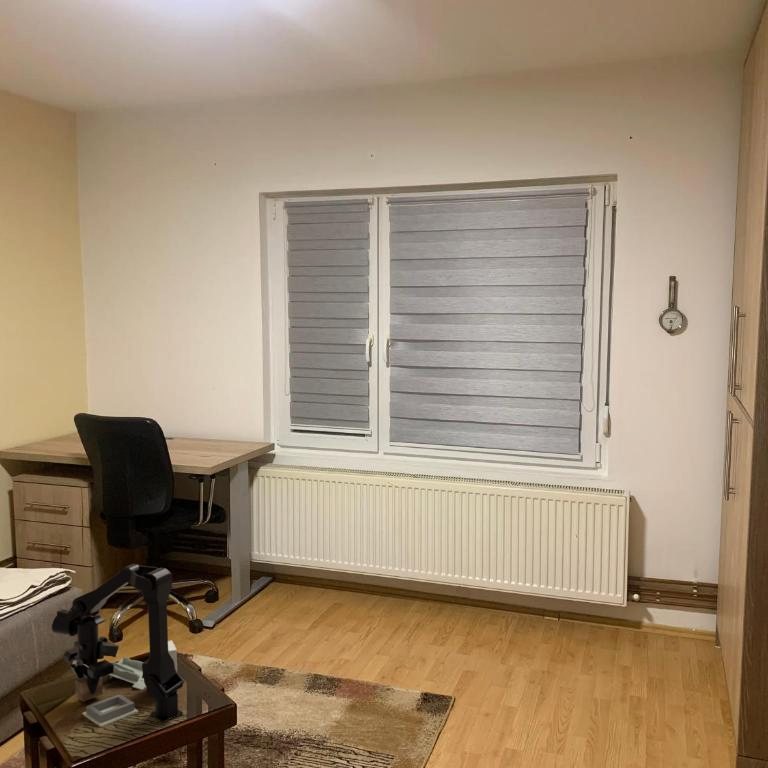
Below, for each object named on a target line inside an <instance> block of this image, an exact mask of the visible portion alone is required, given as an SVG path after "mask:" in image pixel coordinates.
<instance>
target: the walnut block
mask: <svg viewBox="0 0 768 768" xmlns="http://www.w3.org/2000/svg"><path fill="white" fill-rule="evenodd" d="M74 684H75V698H76V699H78V700H80V701H81V702H85V701H88V700H91V699H94V698H96V697H98V696H103V692H104V691H103V677H100V679H99V682H98V685H97V688H96V691H95V693H94V694H91V693H90V691H89V689H88V686H87V683H86V680H85V678H84V677H83V678H80V679H75V683H74Z"/></svg>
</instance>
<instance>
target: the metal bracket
mask: <svg viewBox="0 0 768 768" xmlns="http://www.w3.org/2000/svg"><path fill="white" fill-rule="evenodd" d="M142 663H144V662H142V661H140V660H134V659H130V658H129V657H128V656H124V657H123V658H121V659H120V660H119V661H118V662H115V661H113V662H112V664H113V665H114V673H112V674H109V675H108V676H110V677H109V680H111V679H112V678H116V679H119V680H123V681H124V682H125V681H126V682H128V683H130V684H133V685H132V688H134V689H136V690H140V691H143V690H144V689H145V688H147V687H146V685H145V683H144V678H143V679H142V675H143V671H142Z"/></svg>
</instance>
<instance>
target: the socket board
mask: <svg viewBox="0 0 768 768" xmlns="http://www.w3.org/2000/svg"><path fill="white" fill-rule="evenodd" d="M85 709H86V711H84V712H82V715H83V717H85V718H87V719H89V720H90V721H91V722H92V723H94V724H96V726H99V727H100V728H102V727H105V726H107V725H109V724H113V723H115V722H118V721H120V720H122V719H125V718H128V717H130V716H133V715H135V714H138V713H139V710H138V709H137V708H135V702H134V701H132V700H130V699H128V698H126V697H125V696H123V695H122V694H117V695H114V696H111V697H108V698H105V699H103V700H100V701H97V702H94V703H92V704H89V705H86V708H85Z"/></svg>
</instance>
